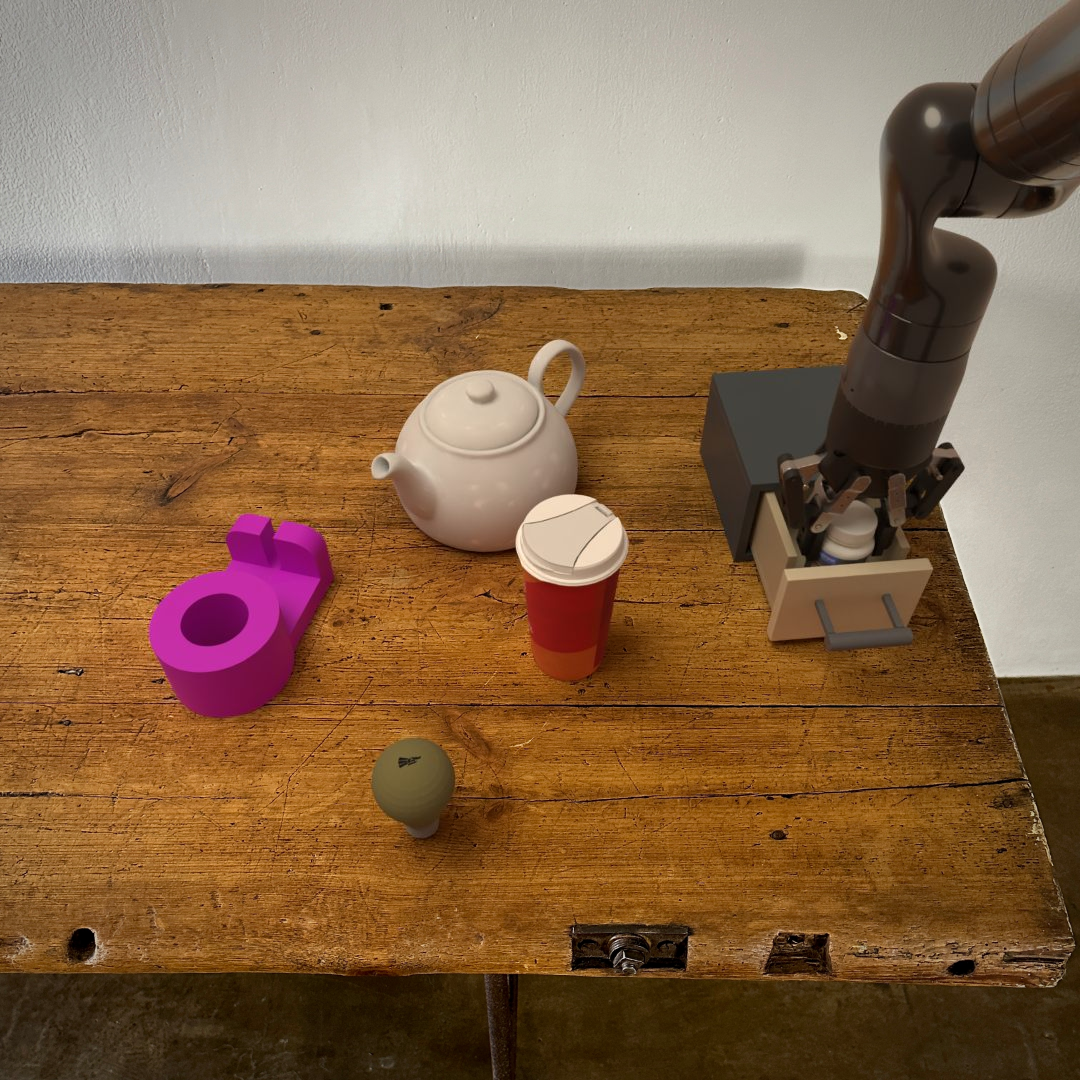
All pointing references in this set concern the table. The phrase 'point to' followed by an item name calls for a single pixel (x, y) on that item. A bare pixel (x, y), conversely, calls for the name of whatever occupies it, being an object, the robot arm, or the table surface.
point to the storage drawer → (834, 586)
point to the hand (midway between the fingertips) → (840, 550)
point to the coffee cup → (570, 581)
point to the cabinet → (761, 437)
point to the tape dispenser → (242, 618)
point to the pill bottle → (848, 537)
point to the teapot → (485, 453)
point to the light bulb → (414, 784)
